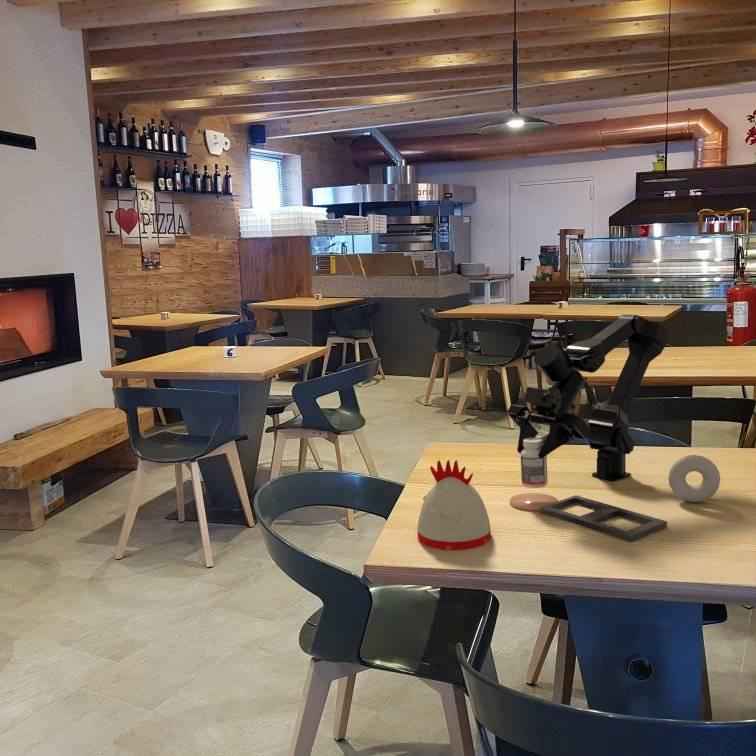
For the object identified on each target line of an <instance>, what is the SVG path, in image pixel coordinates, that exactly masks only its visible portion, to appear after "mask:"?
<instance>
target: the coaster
mask: <svg viewBox="0 0 756 756" xmlns="http://www.w3.org/2000/svg"><path fill="white" fill-rule="evenodd" d="M557 501H559V500H558V498H557V497H555V496H553V495H550V494H546V493H540V492H538V493H537V492H528V493H527V492H526V493H518V494H515V495H513V496H511V497H510V498H509V505H510V506H511V507H513V508H515V509H517V510H522V511H528V512H529V511H530V512H540V507H541V506H545V505H548V504H551V503H554V502H557Z"/></svg>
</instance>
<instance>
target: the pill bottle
mask: <svg viewBox="0 0 756 756" xmlns="http://www.w3.org/2000/svg"><path fill="white" fill-rule="evenodd" d="M543 444H544V442H543V439H542V438H541V437H535V438H526V439H524V440H523V446H524V448H525V449H523V450H522V451H521V454H520V468H521V472H520V473H521V484H522V486H523V487H525V488H531V489H539V488H540V489H541V488H544V487H546V486H547V485H548V481H549V480H548V462H547V461H548V459H547V458H548V457H547V456H548V455H546V456H545V457H543V458H540V457H539V456H538V454H539V452H540V449H541V447H542V445H543Z"/></svg>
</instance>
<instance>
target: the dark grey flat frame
mask: <svg viewBox="0 0 756 756" xmlns="http://www.w3.org/2000/svg"><path fill="white" fill-rule="evenodd" d="M574 504H576V505H579V506H583V507H586V508H589V509H593V511H590V512H588V513H585V514H582V515H577V514H574V513H571V512H567V511H564V510H561V509H563V508H565V507H568V506H572V505H574ZM539 513H540V514H543V515H546V516H549V517H552V518H556V519H558V520H562V521H565V522H568V523H570V524H574V525H576V526H577V525H578V526H580V527H584V528H587V529H589V530H593V531H595V532H599V533H602V534H605V535H608V536H611V537H613V538H617V539H620V540H624V541H627V542H630V543H632V542H634V541H637V540H639V539H642V538H644V537H647V536H649V535H651V534H654V533H656V532H660V531H662V530H664V529H667V528H668V521H667V520H663V519H660V518H657V517H653V516H650V515H646V514H643V513H640V512H636V511H632V510H629V509H625V508H621V507H618V506H615V505H611V504H608V503H604V502H601V501H598V500H594V499H591V498H587V497H583V496H579V495H576V494H575V495H571V496H569V497H567V498H564V499H559V500H558V501H557V502H554V503H551V504H548V505H545V506H541V507H540V511H539ZM619 517H620V518H622V519H627V520H629V521H633V522H637V523H639V524H641V525H638V526H636V527H633V528H631V529H628V530H625V529H622V528H619V527H615V526H612V525H609V524H605V523H604V522H607V521H609V520H612V519H615V518H619Z"/></svg>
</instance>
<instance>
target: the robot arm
mask: <svg viewBox="0 0 756 756" xmlns="http://www.w3.org/2000/svg"><path fill="white" fill-rule="evenodd" d="M669 338H670V333H669V330H667V328H666V326H664V325H663V324H658V323H656V322H653V321H651V320H648V319H646V318H645V317H643V316H641V315H638V314H621V315H619V316H618V317H617V319H616V320H615V321H614V322H612V323H611V324H609V325H608V326H606V327H605V328H603V329H602V330H601V331H600V332H598V333H597V334H595V335H594V336H592V338H589V339H584V340H579V341H576V342H574V343H572V344H570V345H568V346H567V347H566V349H564V348H563V346H562V344H561V343H560V341H554V340H553V341H552V340H551V341H550V342H549V343H548V344H547V345H545V346H543V347H541V348H540V349H539V350H538V351H536V353H535V354H534V357H533V362H534V363H535V365H536V367H537V368H538V369H539V370H540V372H541V373H542V374H543V375H544V376H545V377H546V379H547V380H548V381H550V382H553V383H552V385H551V386H549V387H548V388H545V389H542V388H538V387H537V388H536V387H531V386H530V387H529V386H526V388H525V392H524V396H523V400H522V402H524V403H528V404H531V405H532V407H531V408H532V409H533V410H534V411H536V413H533V412H532V411H531V410H530V409H529V408H528V406H526V405H521V404H510V406H509V407H508V410H507V411H506V414H507V416H508V417H509V418H510V419H511V420H512V421H513V422H514V423H515V424H516V426H517V427H519V434H518V435H519V436H518V442H517V443H518V444H517V450H516V451H517V453H518V454H520V455H521V451H522V450H523V449H525V448H524V446H523V440H524V439H526V438H537V435H538V434H539V431H538V430H537V429H536V428H535V427H536V425H537V424H539V425H544V426H548V427H549V432H548V434H547V436H546V438H545V440H544V442H543V445H542V447H541V449H540V452H539V454H538V456H539V457H540V458H543V457H545V456H546V455H547V456H548V455H549V454H551V453H552V452H553V451H555V450H557V449H558V448H560V447H561V446H563V445H565V444H566V443H568V442H569V443H570V442H573V441H575V440H581V441H587V440H588V444H589V448H590V449H591V450H597V452H596V453H597V454H596V455H597V456H596V471H595V472H592V473H591V476H593V477H595V478H600V479H604V480H608V481H613V482H615V481H619V480H622V479H624V478H625V479H626V478H627V477H631V476H632V473H631V472H627V471H626V468H627V466H626V455H630V454H631V452H633V451H634V447H635V441H634V439H633V438H632V436H630V434H629V433H628V431H629V428H630V426H629V420H628V413H629V410H630V409H631V405H632V404H633V401H634V399H635V398H636V397H635V396H636V394H637V392H638V390H639V387H640V385H641V384H642V380H643V378H644V376H645V374H646V371H647V368H648V367H649V365H650V362H652V361H653V360H654V359H656V358H657V357H659V356H660V355H661V354H662V352H663V350H664V349H665V347H666V346H667V344H668V342H669ZM626 340H627V341H626ZM625 341H626V342H627V347H628V348H627V349H628V356H627V358H626V360H625V363H624V365H623V367H622V369H621V372H620V374H619V376H618V379H617V380H616V383H615V385H614V388H613V389H612V392H611V394H610V396H609V399H608V401H607V403H606V405H605V406H604V407H603V408H597V407H596V408H595V409H594V410H593V411H592V414H591V417H590V419H589V420H588V421H587V422H586V421H585V419H584V418H583V417H582V416H581V415H578V414H575V413H570V411H572V412H574V411H575V409H576V408H577V407H576V406H575V405H574V403H575V401H576V399H577V397H578V395H579V393H580V391H581V390H587V391H588V390H590V385H589V382H588V377H587V376H583V375H582V373H596V372H597V371H598V370H599V369H600V368H601V367H602V366H603V365H604V364H605V363H606V356H607V355H608V354H609V353H611V352H612V351H614V350H615V349H616V348H618V347H619V346H620V345H621V344H623V343H624V342H625ZM573 436H574V437H573ZM574 438H575V439H574Z"/></svg>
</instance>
